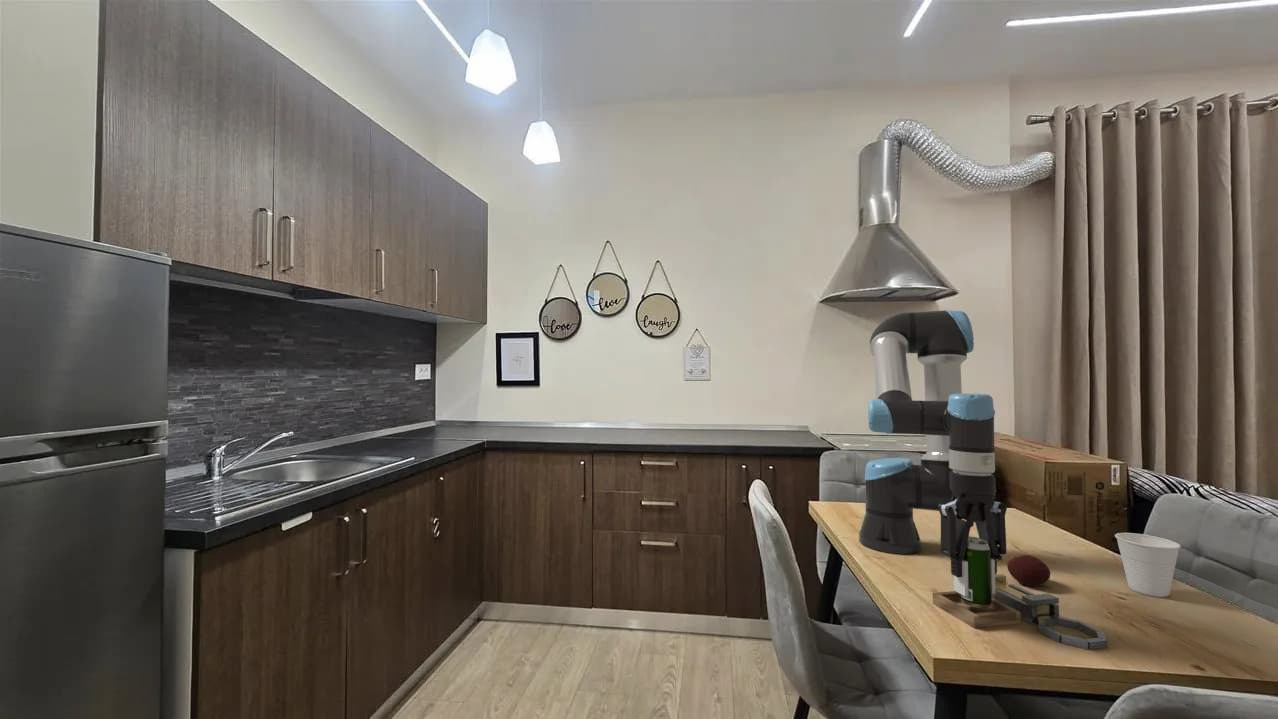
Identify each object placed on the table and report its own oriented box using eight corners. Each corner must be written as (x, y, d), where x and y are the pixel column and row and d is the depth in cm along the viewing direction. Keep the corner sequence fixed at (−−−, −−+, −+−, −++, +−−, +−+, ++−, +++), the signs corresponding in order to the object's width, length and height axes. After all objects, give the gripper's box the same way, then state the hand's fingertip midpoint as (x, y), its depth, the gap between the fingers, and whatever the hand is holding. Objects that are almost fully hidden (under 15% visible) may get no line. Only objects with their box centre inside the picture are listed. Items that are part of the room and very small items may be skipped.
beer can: (984, 611, 92) (983, 546, 93) (953, 600, 97) (952, 538, 97) (996, 604, 95) (995, 541, 96) (966, 594, 100) (964, 534, 100)
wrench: (981, 601, 101) (981, 580, 101) (1019, 598, 102) (1018, 577, 102) (1076, 651, 83) (1075, 625, 83) (1120, 646, 84) (1119, 620, 84)
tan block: (981, 595, 103) (981, 575, 103) (1002, 593, 104) (1001, 574, 104) (1032, 620, 92) (1031, 599, 92) (1054, 618, 93) (1053, 597, 93)
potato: (999, 580, 112) (998, 553, 112) (1023, 574, 115) (1023, 548, 115) (1037, 593, 105) (1036, 565, 105) (1061, 586, 108) (1060, 559, 108)
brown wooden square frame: (932, 603, 100) (932, 592, 100) (975, 599, 102) (975, 589, 102) (974, 628, 90) (974, 616, 90) (1020, 623, 92) (1020, 612, 92)
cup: (1167, 586, 108) (1165, 536, 108) (1194, 605, 99) (1192, 550, 99) (1107, 579, 112) (1106, 530, 113) (1129, 596, 103) (1127, 543, 104)
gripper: (946, 477, 92) (948, 604, 91) (1029, 474, 95) (1032, 596, 94) (916, 470, 99) (918, 587, 98) (994, 467, 102) (997, 580, 101)
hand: (974, 591), depth 96 cm, fingers closed on beer can, 5 cm apart
